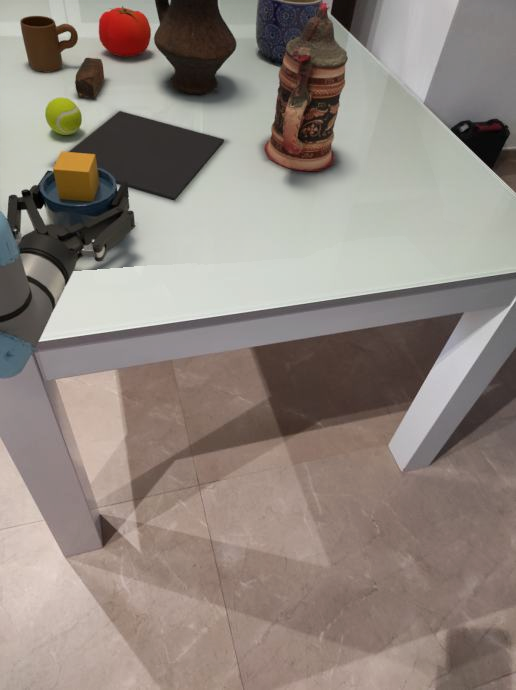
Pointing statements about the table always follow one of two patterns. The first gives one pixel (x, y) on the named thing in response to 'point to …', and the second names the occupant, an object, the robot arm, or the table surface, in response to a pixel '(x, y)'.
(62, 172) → the block
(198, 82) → the jug
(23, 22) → the mug
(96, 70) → the brick
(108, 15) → the tomato
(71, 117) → the tennis ball
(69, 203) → the blue paint bucket
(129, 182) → the mat
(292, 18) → the planter
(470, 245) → the table surface
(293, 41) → the beer stein
